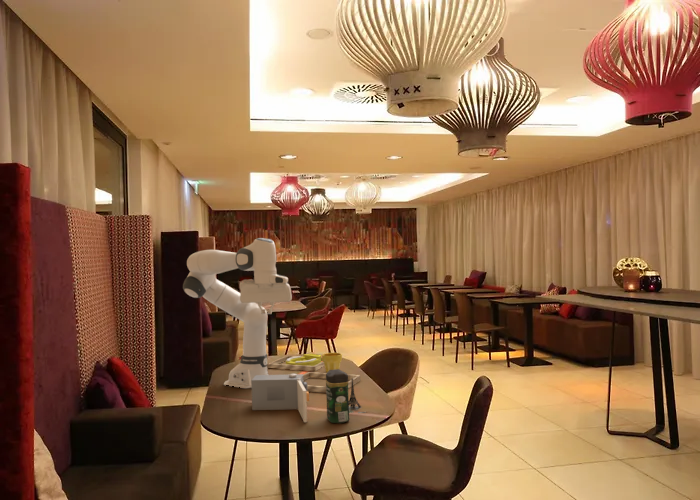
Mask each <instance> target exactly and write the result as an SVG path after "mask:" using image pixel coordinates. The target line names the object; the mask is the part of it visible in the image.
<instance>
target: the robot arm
mask: <svg viewBox="0 0 700 500" xmlns="http://www.w3.org/2000/svg"><path fill="white" fill-rule="evenodd" d="M277 261H278V255H277V249H276V244H275V242H274V240H273V239H271V238H265V237H264V238H263V237H258V238H256V239H253V241H252V243H250V244H248V245H247V246H244V247H241V248H239V249H238V251H237V252H233V251H232V252H231V251H225V250H219V249H204V250H198V251H196V252H194V253H192V254H190V255H189V256H188V258H187V260H186V266H187V269H188V270H189V273H188V275H187V276H186V278H185V279H184V281H183V283H182V289H183V292H184V293H185V294H186V295H188V296H189V297H192V298H194V299H201V298H202V297H203V298H204V299H205V300H206V301H208V302H209V303H210V304H212V305H214V306H215V307H217V308H219V309H220V310H222V311H224V312H225V313H227V314H229V315H231V316H232V317H234V318H236V319H238V320H239V321H241V322H243V337H242V355H241V356H239V357H238V360H240V362H239V363H238V364H237V365H236V366H234V368H232V369H231V370H230V371H229V374H228V380H225V381H224V382H223V386H226V385H229V386H228V387H232V386H234V388H239V387H240V389H252V379H253V378H254V377H255V376H256V375H269V372H268V370H269V369H268V368H267V364H268V354H267V333H268V332H267V330H268V318H269V317H268V315H272V313H273V308H274V306H275V303H290V302H291V301H292V299H293V296H292V288H291V286H290V284H289V278H288V277H287V276H285V275H281V274H278V273H277V267H276V264H277ZM237 269H239V270H240V271H244V272H245V271H247V272H249V271H250V272H251V271H253V276H254V277H253V279H252V278H251V279H243V280H241V281H240V282H239V290H240V292H239V291H238V290H236V289H235V288H232V287H231V286H229V285H228V284H226V283H224V282H223V281H221V280H219V279H217V277H216V275H217V274H223V273H225V272H229V271H233V270H237ZM263 303H269V305H270V308H269V309H266V308H265V307H264V306H262V305H263Z"/></svg>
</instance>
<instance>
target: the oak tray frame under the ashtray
mask: <svg viewBox="0 0 700 500" xmlns="http://www.w3.org/2000/svg"><path fill="white" fill-rule="evenodd" d="M292 357H297V355H285V356H283V357H280V358H277V359H276V360H273V361H270V362H269V363H268V362H267V369H268V368H278V369H277V370H285V369H290V370H289V371H302V370H303V372H304V371H305V372H306V371H307V372H316V371H318V370H320V369H322V368H324V367H325V366H324V362H321V363H319V364H317V365H315V366H303V365H286V363H285V364H283V363H284V362H283V361H285V362H286V360H287V359H288V358H292ZM301 357H303V355H302V356H301ZM321 361H322V356H321ZM281 362H283V363H281ZM278 363H281V364H278ZM323 366H324V367H323ZM321 367H322V368H321Z"/></svg>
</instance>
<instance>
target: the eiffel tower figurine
mask: <svg viewBox="0 0 700 500" xmlns="http://www.w3.org/2000/svg"><path fill="white" fill-rule="evenodd" d="M351 380H352V386H351V387H350V388H351V389H350V390H351V391H350V396H349V414H354V413H355V411H358V410H360V409H362V408H363V407H362V406H361V405H360V403H359V400H357V398H356V394H355V388H354V385H353V379H351ZM357 413H358V414H361V413H365V411H358V412H357Z"/></svg>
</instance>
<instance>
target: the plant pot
mask: <svg viewBox="0 0 700 500" xmlns="http://www.w3.org/2000/svg"><path fill="white" fill-rule="evenodd" d="M321 357H322V361H323V362H324V369H325V373H327V372H328V371H329V370H335V369H340V368H341V362H342V361H343V354H342V353H340V352H327V353H322V355H321ZM340 370H341V369H340Z"/></svg>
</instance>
